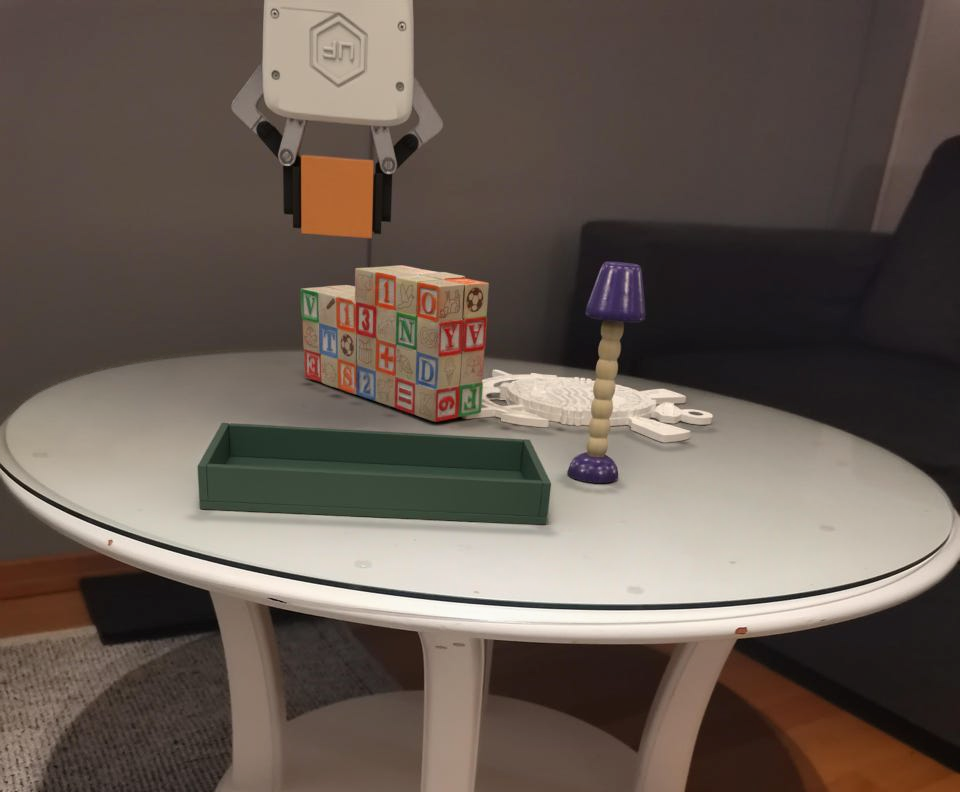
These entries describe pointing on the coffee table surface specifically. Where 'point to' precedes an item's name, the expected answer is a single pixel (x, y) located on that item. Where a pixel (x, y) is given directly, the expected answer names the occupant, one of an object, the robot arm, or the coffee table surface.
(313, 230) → the orange block
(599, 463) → the toy lamp
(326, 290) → the stack of blocks
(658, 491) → the coffee table surface
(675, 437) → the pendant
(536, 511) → the tray
